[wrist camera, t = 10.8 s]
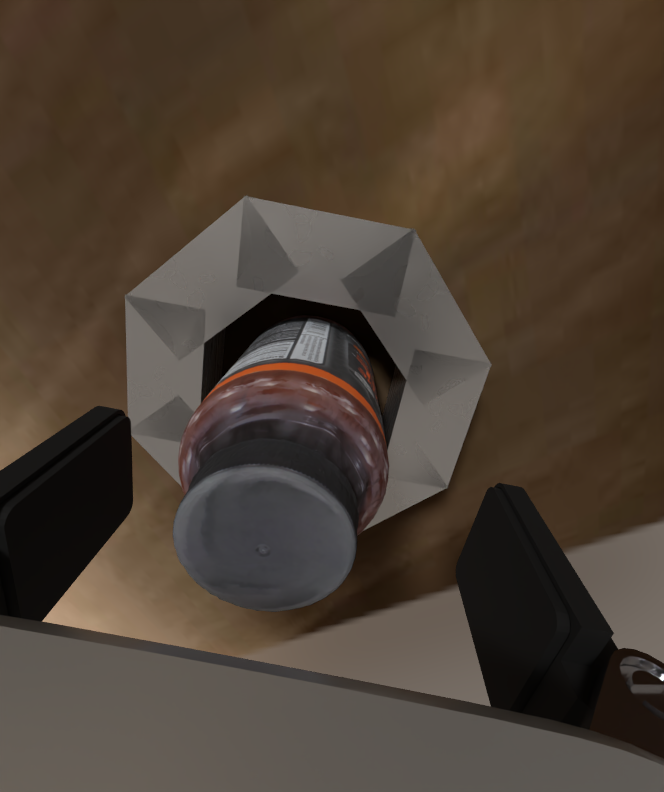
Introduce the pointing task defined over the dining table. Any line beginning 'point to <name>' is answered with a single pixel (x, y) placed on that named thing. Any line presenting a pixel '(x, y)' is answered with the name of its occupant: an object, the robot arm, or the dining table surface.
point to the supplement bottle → (282, 468)
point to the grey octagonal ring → (320, 282)
